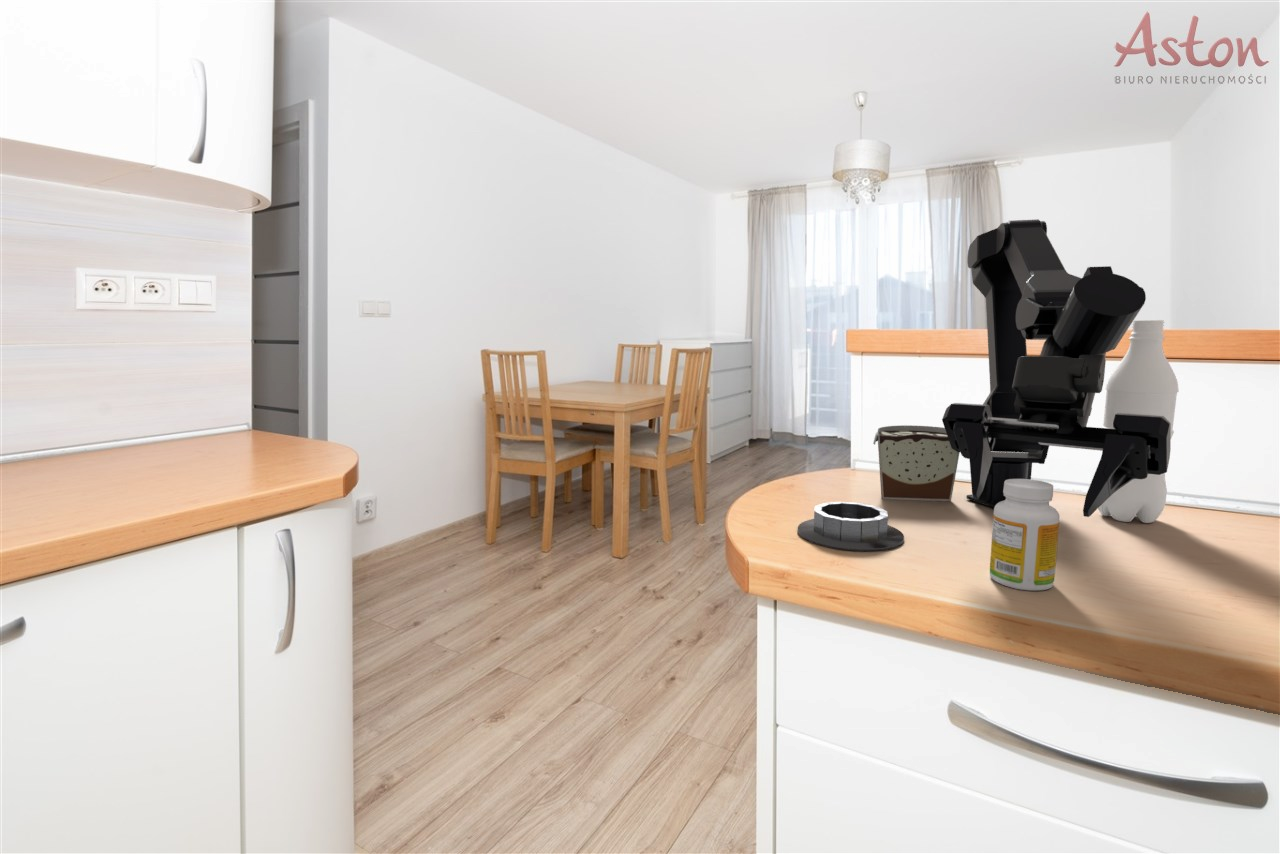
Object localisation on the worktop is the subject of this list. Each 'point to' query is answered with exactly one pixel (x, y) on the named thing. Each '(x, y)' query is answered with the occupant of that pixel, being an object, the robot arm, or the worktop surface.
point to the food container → (916, 463)
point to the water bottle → (1144, 391)
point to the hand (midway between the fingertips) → (1027, 505)
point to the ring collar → (850, 527)
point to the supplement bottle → (1025, 536)
